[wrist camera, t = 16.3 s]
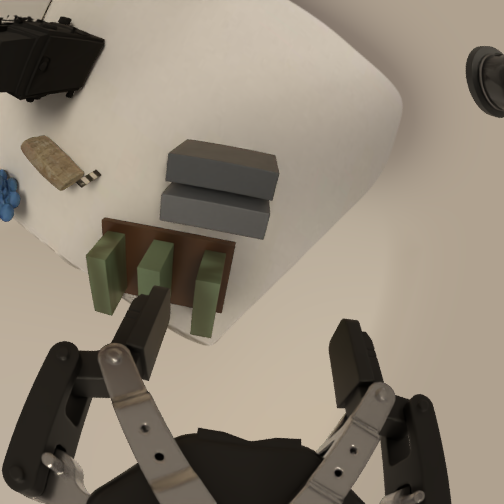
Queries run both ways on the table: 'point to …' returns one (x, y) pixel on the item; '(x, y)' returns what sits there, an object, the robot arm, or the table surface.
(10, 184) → the grapes
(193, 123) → the table surface
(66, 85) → the camera
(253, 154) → the grey grooved block
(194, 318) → the book rack
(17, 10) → the grey rectangular panel
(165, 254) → the green book
